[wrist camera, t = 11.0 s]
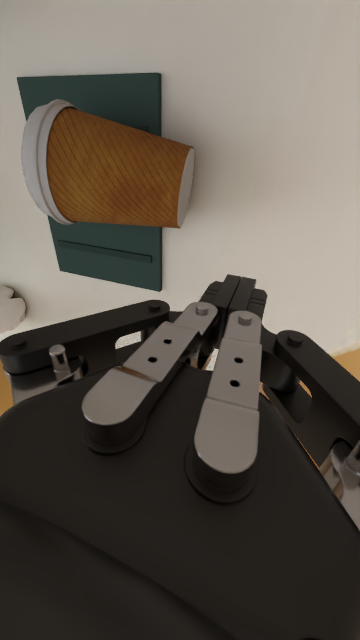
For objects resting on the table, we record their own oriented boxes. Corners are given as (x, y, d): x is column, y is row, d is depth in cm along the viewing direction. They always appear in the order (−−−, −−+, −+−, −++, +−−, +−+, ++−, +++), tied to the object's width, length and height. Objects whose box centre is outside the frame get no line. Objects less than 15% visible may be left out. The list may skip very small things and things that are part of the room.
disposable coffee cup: (200, 86, 19) (38, 62, 20) (168, 215, 18) (1, 183, 19) (198, 174, 28) (88, 154, 29) (177, 261, 28) (65, 238, 28)
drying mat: (62, 269, 38) (58, 271, 37) (21, 78, 27) (13, 76, 26) (162, 289, 34) (159, 292, 33) (161, 74, 23) (156, 71, 22)
